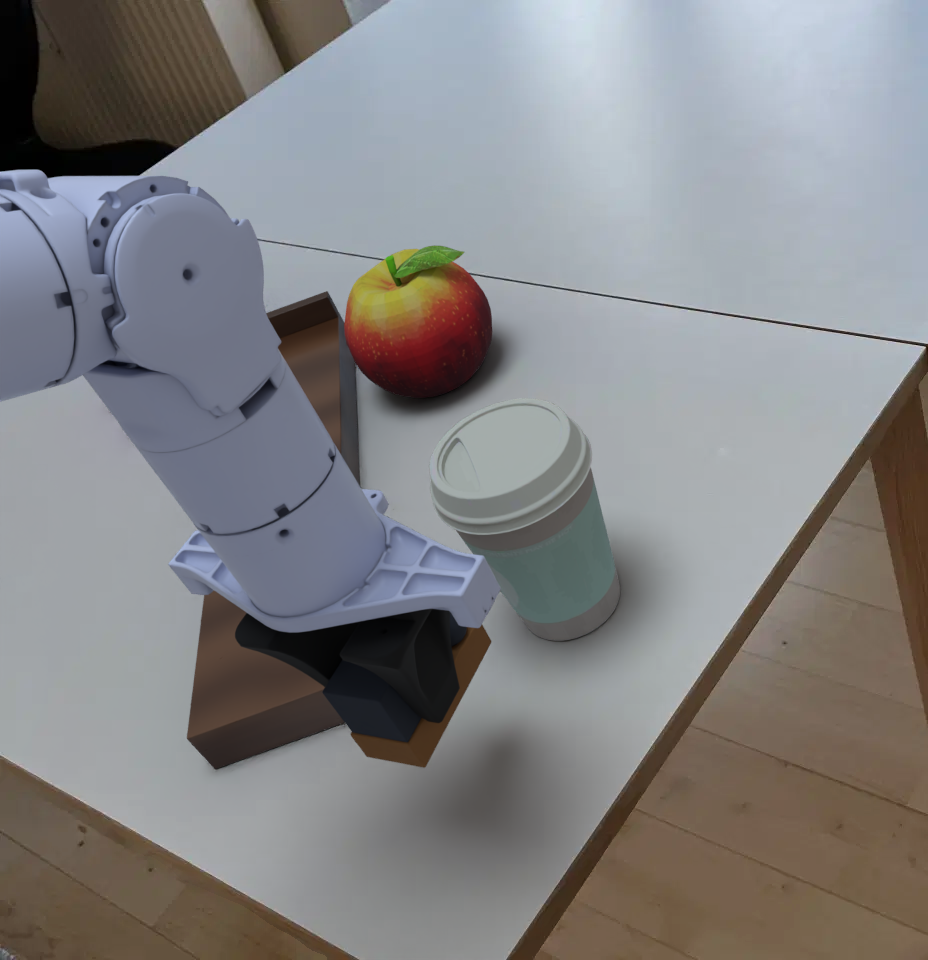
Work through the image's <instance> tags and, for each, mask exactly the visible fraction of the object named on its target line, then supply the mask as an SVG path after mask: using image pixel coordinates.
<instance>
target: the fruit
mask: <svg viewBox="0 0 928 960" xmlns="http://www.w3.org/2000/svg"><path fill="white" fill-rule="evenodd" d="M464 253H465V251H463V250H458V249H455V248H451V247H448V246H445V245H427V246H424V247H422V248H420V249H419V248H406V249H402V250H399V251H397V252H394V253H392V254H390V255H388V256H386V257H385V258H384V259H383V260H382V261H380V262H378V263H377V264H376V265H374V266H373V267H372V268H370V269H369V270H367V271H366V272H365V273H363V274H362V275H361V276H360V277H358V278H357V280H356V281H355V282H354V283H353V285H352V287H351V289H350V292H349V294H348V297H347V301H346V308H345V316H344V330H345V338H346V343H347V346H348V348H349V350H350V353H351V355H352V357H353V359H354V361H355V366H357V367H358V369H359V370H360V372H361V373H362V374H363V376H365V377H366V378H367V379H368V380H369V381H370V382H372V383H373V384H375V385H377V386H378V387H379V388H381V389H383V390H385V391H386V392H388V393H391V394H393V395H395V396H396V395H397V396H401V397H406V398H412V399H425V398H434V397H437V396H441V395H444V394H447V393H450V392H452V391H453V390H456V389H458V388H459V387H461V386H462V385H464V384H465V383H466V382H468V381H469V380H470V379H471V378H472V377H473V376H474V374H475V373H476V372H477V371H478V370H479V369H480V367H481V366H482V365H483V363H484V361H485V359H486V356H487V354H488V352H489V350H490V347H491V343H492V339H493V316H492V309H491V306H490V305H491V304H490V302H489V299H488V297H487V296H486V294H485V292H484V290H483V289H482V288H481V286H480V285H479V284H478V283H477V281H476V279H474V277H473V276H472V275H471V274H470V272H468V271H467V270H466V269H465V268H464V267H462V266H461V265H459V264H457V263H456V262H454V261H456V260H458V259H459V258H461V257H462V256H463V255H464Z"/></svg>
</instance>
